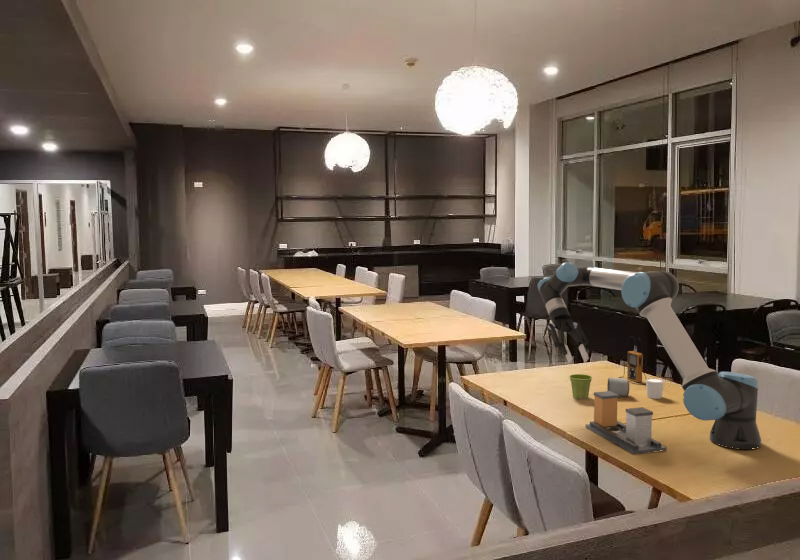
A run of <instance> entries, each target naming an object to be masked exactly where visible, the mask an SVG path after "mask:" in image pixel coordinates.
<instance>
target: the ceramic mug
mask: <svg viewBox="0 0 800 560" xmlns="http://www.w3.org/2000/svg"><path fill="white" fill-rule="evenodd" d="M629 381H630V380H629V379H625V378H619V377H608V379H607V386H606V387H607V388H606V389H607V391H611V392H613V393H615V394H617V395H618V397H623V398H625V397H629V395H630V382H629Z"/></svg>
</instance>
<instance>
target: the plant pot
mask: <svg viewBox="0 0 800 560" xmlns="http://www.w3.org/2000/svg"><path fill="white" fill-rule="evenodd" d="M568 377H569V380H570V384H571V392H572V397H573V398H575V399H579V400H580V399H588V398H589V396H590V395H589V393H590V387H591V382H592V380H593V376H592V375H589V374H583V373H581V374H580V373H576V374H570V375H569V376H568Z"/></svg>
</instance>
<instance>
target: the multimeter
mask: <svg viewBox="0 0 800 560" xmlns="http://www.w3.org/2000/svg"><path fill="white" fill-rule="evenodd" d="M630 338H633V340H634V342H635V345H634V346H633V347H634V349H633V350H629V351H627V368H626V367H625V364H626V363H625V362H623V376H619V377H618V378H619V379H622V378H624V377H625V374H626V375H627V377H626V378H627V379H626V380H628V381H629V383H632V384H633V385H636V383H637V386H638V385H639V386H646V383H642V384H641V382H643V374H644V377H645V381H646V380H647V379H648V378H647V376H646V373H645V372H644V368H643V366H644V365H643V362H644V346H643V343H642V340H641V338H639V337H637V339H635V337H634V336H629V337H628V338H627V341H626V344H625V347H624V352H623V356H625V353H626V348H627V345H628V342H629V339H630ZM638 340H639V342H640V344H641V349H642V351H641V352H638V348H637V347H638V346H637V345H638V344H637V342H638ZM625 368H626V369H627V373H625V370H626V369H625ZM634 382H635V383H634Z"/></svg>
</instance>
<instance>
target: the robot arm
mask: <svg viewBox="0 0 800 560" xmlns="http://www.w3.org/2000/svg"><path fill="white" fill-rule="evenodd" d="M578 286H591V287H596V288H597V287H598V288H605V289H611V290H618V291H621V297H622V300H623V302H624V303H625V304H626V305H627V306H629V307H631V308H634V309H636V311H637V313H638V314H639V317H643V318H646V319H647V321H648V322H649V323H650V325H651V327H652V329H653V331H654V332H655V334H656V336H657V337H658V339H659V341H660V343H661V344H662V346H663V348H664V350H665V351H666V353H667V354H668V356H669V358H670V359H671V361H672V363H673V364H674V366H675V368H676V369H677V371H678V373H679V375H680V377H681V378H682V385H681V387H682V389H683V391H684V392H683V395H682V396H683V398H682V400H683V405H684V407H685V408H686V409H685V410H686V411H687V412H688V413H689V414H690V415H691V416H693V417H694V418H696V419H697V420H701V421H707V422H709V421H714V422H713V424H712V427H711V429H710V433H709V440H710V441H711V442H712V441H713V442H715V443H717V444H720V445H723V446H727V447H731V448H730V449H732V447H733V448H739V449H752V448H757V447H760V446H761V447H762V437H761V434H760V431H759V427H758V424H757V410H758V409H757V407H758V393H759V392H758V390H759V387H758V386H759V385H758V384H759V383H758V379H757V378H756V377H755V376H752V375H749V374H744V373H738V372H732V371H719V372H717V370H715V369H713V368H709V367H708V364H707V363H706V362H705V359H704V358H703V357H702V354H701V353H700V351H699V350H698V349H697V347H696V345H695V343H694V342H693V341H692V339H691V337H690V335H689V334H688V332H687V331H686V329H685V327H684V326H683V324H682V323H681V320H680V319H679V318H678V316H677V313H676V312H675V311H674V309H673V308H672V306H671V304H672V303H673V300H674V299H675V298H677V295H678V293H679V289H680V286H679V280H678V279H677V277H676V276H675V275H674V274H672V273H671V272H668V271H665V270H664V271H663V270H657V271H656V270H655V271H653V270H650V271H647V272H645V271H644V272H643V271H638V272H637V271H628V270H619V269H610V268H603V267H597V266H595V265H594V266H592V265H587V266H576V265H574V264H573V263H570V262H567V261H566V262H563V263H562V264H560V266H558V268H557V269H556V270H555V271H554V273H553V274H552V275H551V276H549V277H547V276H546V277H543V279H540V280H539V282H537V290H538V293H539V295H540V297H541V300H542V302H543V304H544V307H545V308H546V311H547V313H548V316H549V319H550V321H551V322H550V323H549V324H548V325H547V330H548V331H549V333H550V334H549V335H550V337H551V339H552V343H553V345H554V347H555V348H558V350H560V351H561V352H562V354H563V356H565V358H566V360H567V363H568V364H572V362H573V360H574V358H573V356H572V353H571V351H570V349H569V347H568V345H567V344H565V333H567V334H568V335H570V336H571V338H572V339H573V340H574V342H575V343H576V344H577V345H578V350H579V353H580V355H581V358H582V360H583V362H584V363H587V362H588V361H589V359H590V357H589V354H588V349H587V344H588V343H589V340H588V338H587V336H586V334H585V332H584V331H583V328H582V326H581V322H580V321H577V322H576V321H575V322H574V321H573V320H572V319H571V314H570V312H569V310H568V308H567V305H566V302H565V301H564V299H563V296H562V294H563V293H564V292H565V291H566V290H567V288H568V287H569V288H570V287H578ZM713 442H712V443H713ZM715 443H714V444H715ZM717 444H716V445H717ZM720 445H719V446H720ZM723 446H722V447H723ZM727 447H726V448H727ZM761 447H760V448H761ZM739 449H738V450H739Z"/></svg>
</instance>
